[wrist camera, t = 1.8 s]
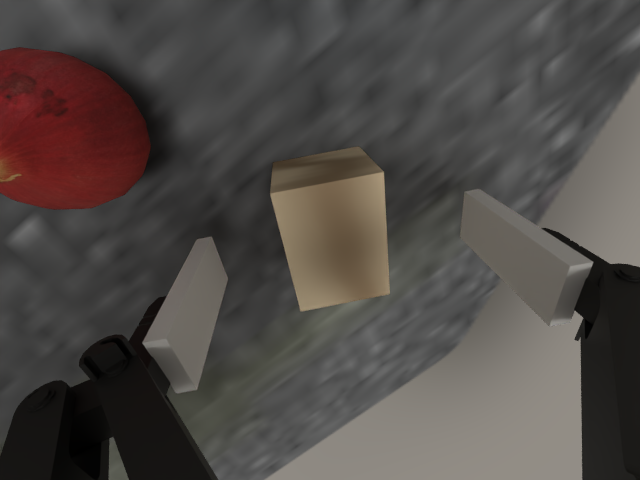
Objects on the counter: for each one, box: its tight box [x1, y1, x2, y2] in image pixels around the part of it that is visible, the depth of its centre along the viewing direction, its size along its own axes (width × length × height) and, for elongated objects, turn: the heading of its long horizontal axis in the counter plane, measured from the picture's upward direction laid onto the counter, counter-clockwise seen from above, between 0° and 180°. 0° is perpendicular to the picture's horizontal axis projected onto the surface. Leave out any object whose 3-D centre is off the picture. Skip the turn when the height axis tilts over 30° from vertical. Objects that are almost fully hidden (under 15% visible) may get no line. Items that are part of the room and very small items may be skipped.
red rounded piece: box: [0, 47, 151, 210], centre depth 12 cm, size 6×6×8 cm
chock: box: [270, 146, 390, 311], centre depth 17 cm, size 5×7×5 cm
